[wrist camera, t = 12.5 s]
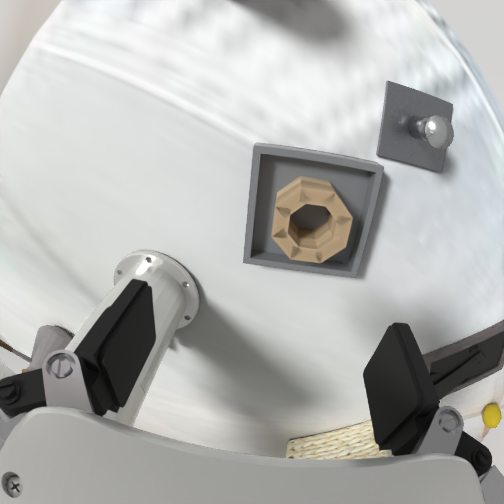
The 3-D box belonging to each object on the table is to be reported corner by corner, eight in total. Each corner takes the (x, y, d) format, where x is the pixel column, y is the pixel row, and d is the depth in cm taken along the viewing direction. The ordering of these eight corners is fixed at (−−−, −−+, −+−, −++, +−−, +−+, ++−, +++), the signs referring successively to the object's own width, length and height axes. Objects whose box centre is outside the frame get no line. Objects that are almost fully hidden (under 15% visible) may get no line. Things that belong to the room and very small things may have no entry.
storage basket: (385, 412, 46) (394, 473, 34) (394, 436, 52) (401, 486, 39) (280, 437, 54) (275, 493, 41) (306, 457, 60) (303, 504, 47)
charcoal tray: (351, 266, 32) (355, 278, 30) (246, 252, 33) (243, 262, 31) (376, 162, 26) (383, 166, 24) (256, 142, 27) (253, 145, 25)
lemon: (475, 412, 47) (483, 435, 40) (486, 400, 44) (495, 424, 37) (488, 408, 47) (496, 430, 39) (499, 396, 44) (508, 419, 37)
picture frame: (417, 399, 45) (499, 364, 39) (419, 407, 43) (502, 370, 37) (420, 353, 38) (515, 311, 33) (423, 361, 37) (520, 317, 31)
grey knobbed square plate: (439, 171, 25) (464, 185, 20) (376, 154, 26) (394, 164, 21) (450, 104, 21) (478, 106, 17) (386, 81, 22) (407, 76, 17)
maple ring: (334, 245, 30) (341, 265, 26) (271, 236, 31) (268, 256, 27) (347, 183, 27) (357, 196, 23) (279, 173, 28) (277, 183, 24)
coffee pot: (95, 355, 48) (61, 411, 35) (70, 361, 52) (40, 408, 39) (28, 271, 40) (-22, 319, 27) (12, 289, 44) (-29, 330, 31)
